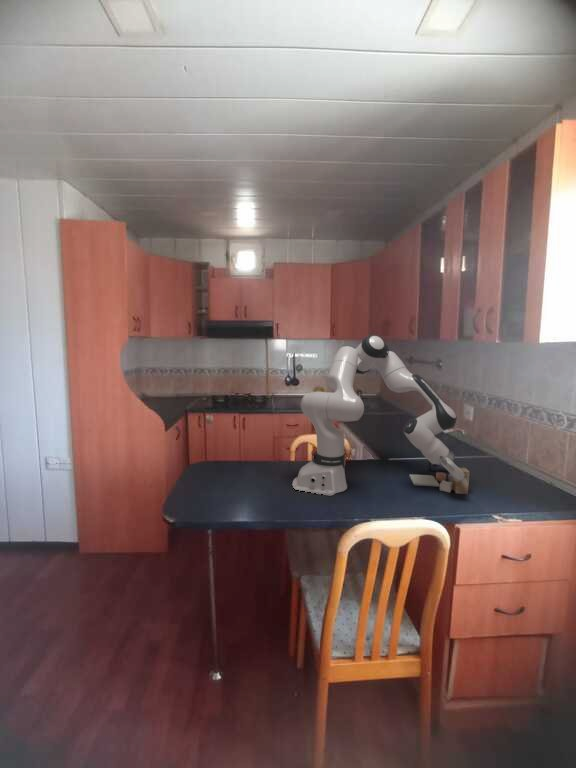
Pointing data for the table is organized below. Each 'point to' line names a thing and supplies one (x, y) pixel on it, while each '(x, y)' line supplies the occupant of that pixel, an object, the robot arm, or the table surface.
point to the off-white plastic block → (446, 486)
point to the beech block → (461, 483)
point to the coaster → (424, 480)
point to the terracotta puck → (440, 476)
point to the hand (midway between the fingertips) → (460, 477)
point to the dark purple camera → (439, 467)
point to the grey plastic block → (450, 478)
